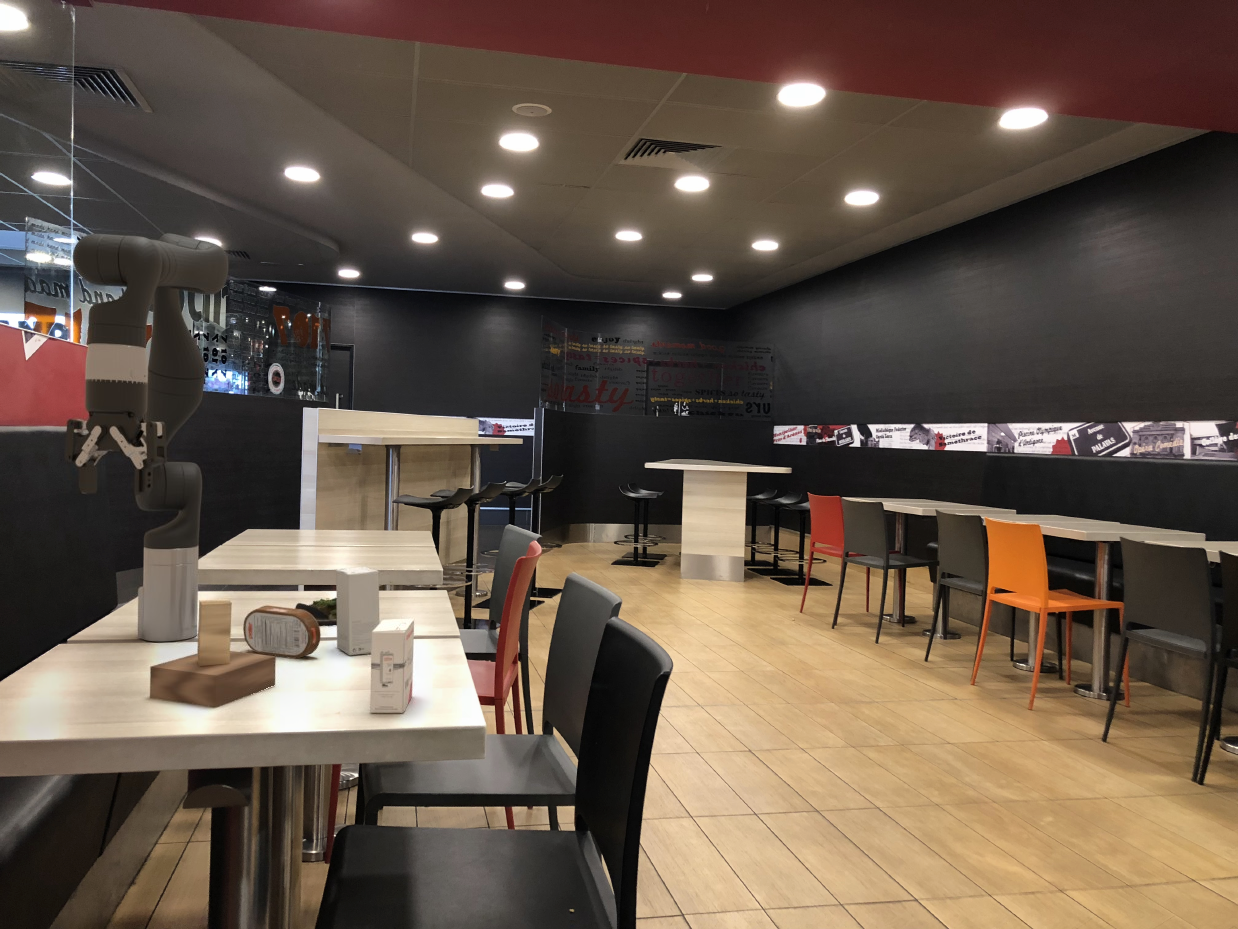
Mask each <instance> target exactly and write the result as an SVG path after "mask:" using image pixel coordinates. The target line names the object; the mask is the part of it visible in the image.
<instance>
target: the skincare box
mask: <svg viewBox="0 0 1238 929" xmlns="http://www.w3.org/2000/svg"><path fill="white" fill-rule="evenodd" d="M335 572H336V578H335V579H336V580H335V582H336V585H335V586H336V587H335V588H336V591H335V592H336V598H337V626H336V648H338V649H339V650H341V651H342V652H344V653H345V654H346V655H348V656H356V655H365V654H371V645H372V631H373V630H374V629H375V628H376V627H377V626H378V625H379V624H380V580H379V573H380V572H379V570H377V569H372V568H369V567H367V566H359V567H358V566H357V567H347V568H337V569H335Z"/></svg>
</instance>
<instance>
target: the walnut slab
mask: <svg viewBox="0 0 1238 929" xmlns="http://www.w3.org/2000/svg"><path fill="white" fill-rule="evenodd" d="M276 657H277V656H273V655H266V654H260V653H251V652H249V653H248V652H243V651H237V650H236V651H235V650H230V664H218V665H206V666H199V663H198V661H197V653H193V654H190V655H187V656H182V657H179V658H176V659H172V660H169V661H166V662H161V663H158V664H154V665H152V666H150V667H149V668H150V672H149V673H150V674H149V675H150V676H149V678H150V679H149V698H150V699H155V700H162V701H168V702H169V701H170V702H174V703H181V704H189V705H195V706H203V707H209V708H215V709H216V708H219V707H222V706H225V705H228V704H230V703H232V702H235V700H236V701H237V700H241V699H243V697H244V698H246V697H249V696H251V694H252V695H254V694H253V693H255V694H256V693H260V692H262V691H261V690H263V691H265V690H264V689H266V688H268V687H271V686H274V685H275V686H276V660H277V659H276ZM275 686H274V687H275ZM271 688H272V687H271ZM268 689H269V688H268ZM266 690H267V689H266ZM259 691H260V692H259Z"/></svg>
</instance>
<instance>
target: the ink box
mask: <svg viewBox="0 0 1238 929" xmlns="http://www.w3.org/2000/svg"><path fill="white" fill-rule="evenodd" d="M414 635H415V619H414V618H397V619H394V618H393V619H382V620H381V622H379V625H378V626H377V627H376V628H375V629H374V630H373V631H372V645H371V653H370V658H371V659H370V696H369V700H370V701H369V703H370V704H369V705H370V706H369V713H371V714H400V713H401V714H404V713H405V711H406V708H407V707H408V705H409V702H410V700H411V698H412V696H413V681H414V680H413V677H414V676H413V675H414V674H413V673H414V643H415V642H414V639H415V637H414Z"/></svg>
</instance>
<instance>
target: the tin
mask: <svg viewBox="0 0 1238 929" xmlns="http://www.w3.org/2000/svg"><path fill="white" fill-rule="evenodd" d="M242 628H243V630H242V631H243V636H244V637H243V638H244V641H245V643H246V645H247V646H248V647H249V648H250V649H251V650H252V651H253V652H254V653H256V654H260V655H266V654H267V655H268V656H273V655H276V657H280V656H283V657H282V658H287V657H289V659H300V658H303V657H305V656H309V655H311V654H313V653H314V652H315V651H316V650H317V649H318V648H319V645H320V642H321V636H322V635H321V629H320V626H319V625H318V623H317V621H316V619H315V618H314V617H313V616H312V615H311V614H310V613H309V612H307V611H305V610H301V609H294V607H293V608H292V607H291V608H290V607H282V606H275V605H267V604H266V605H263V606H260V607H258V608H256V609H253V610H251V611H249V613H247V615H246V616H245V617H244V620H243V627H242Z"/></svg>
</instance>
